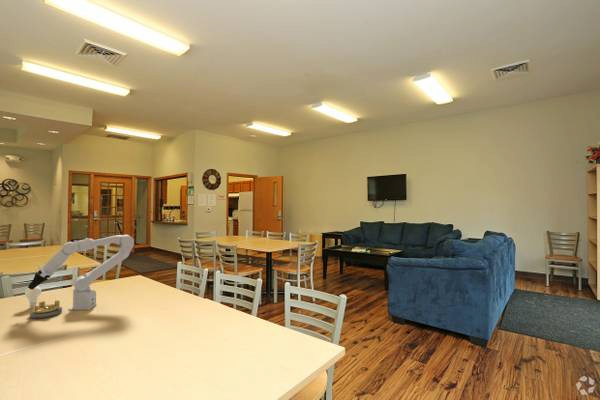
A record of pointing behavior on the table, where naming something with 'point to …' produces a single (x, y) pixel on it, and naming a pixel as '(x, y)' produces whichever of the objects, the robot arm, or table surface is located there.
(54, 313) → the cap base
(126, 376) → the table surface
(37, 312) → the brass lugged disc
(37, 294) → the lightbulb
